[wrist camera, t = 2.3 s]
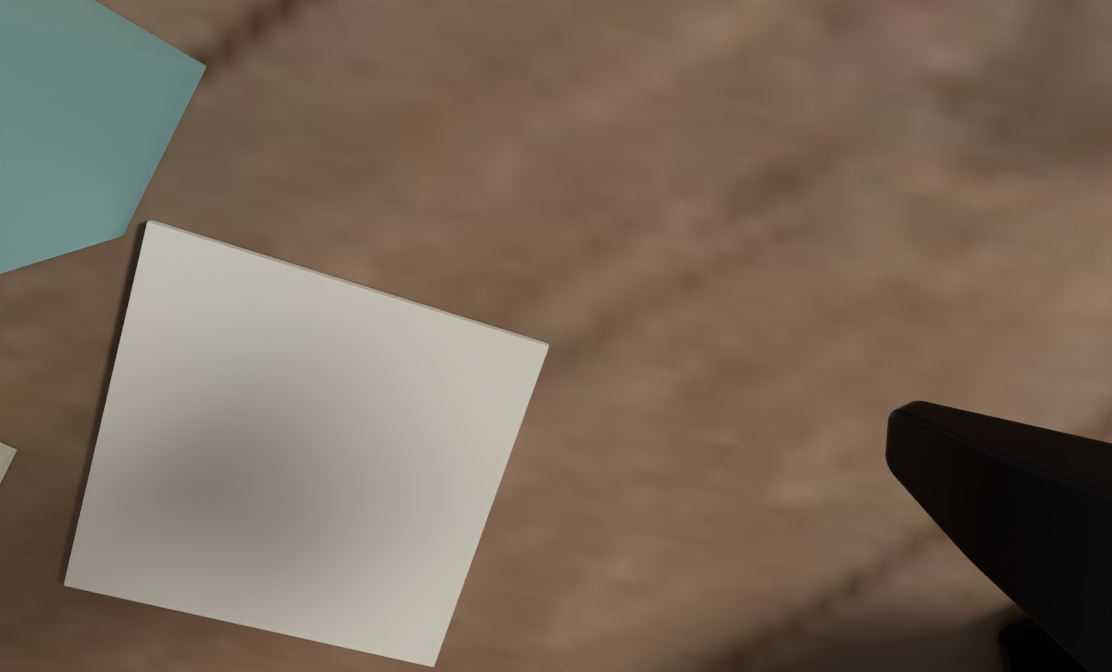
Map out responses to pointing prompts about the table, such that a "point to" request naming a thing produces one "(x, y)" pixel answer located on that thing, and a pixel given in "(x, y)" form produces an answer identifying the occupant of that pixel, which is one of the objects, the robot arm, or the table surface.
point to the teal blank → (80, 123)
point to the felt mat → (296, 449)
